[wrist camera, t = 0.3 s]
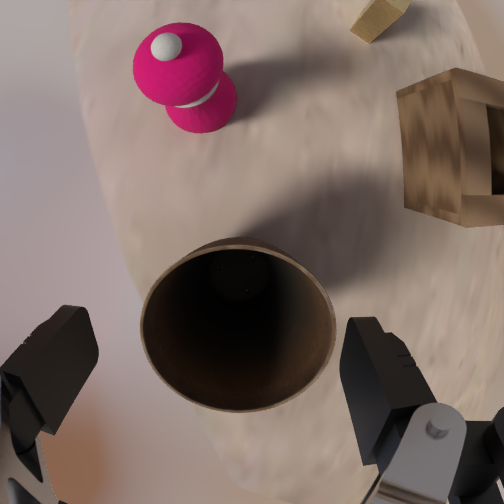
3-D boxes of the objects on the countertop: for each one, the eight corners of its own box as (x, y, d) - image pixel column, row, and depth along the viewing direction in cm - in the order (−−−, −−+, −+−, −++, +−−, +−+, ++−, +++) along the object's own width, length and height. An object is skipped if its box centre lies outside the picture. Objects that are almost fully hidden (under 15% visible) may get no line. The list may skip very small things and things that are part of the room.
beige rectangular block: (364, 7, 29) (394, -27, 19) (383, 20, 29) (417, -11, 20) (349, 30, 30) (379, -4, 20) (369, 43, 30) (404, 13, 21)
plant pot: (279, 338, 40) (296, 425, 25) (168, 310, 39) (131, 389, 24) (317, 231, 37) (366, 276, 21) (194, 196, 35) (157, 219, 20)
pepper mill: (209, 66, 31) (175, -27, 12) (250, 108, 33) (258, 40, 13) (162, 107, 32) (80, 53, 13) (203, 149, 34) (153, 129, 15)
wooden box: (396, 91, 32) (455, 67, 20) (478, 104, 32) (540, 96, 20) (404, 207, 36) (466, 227, 24) (483, 204, 36) (545, 221, 24)
